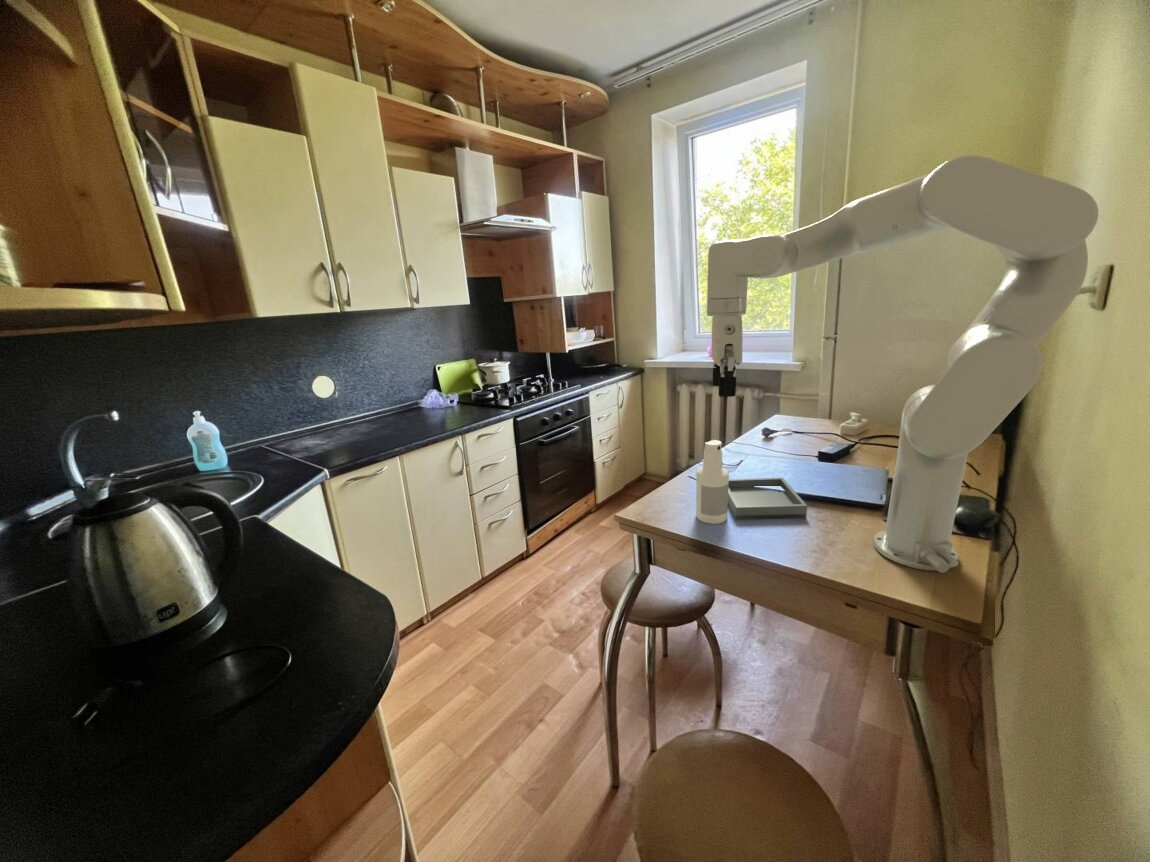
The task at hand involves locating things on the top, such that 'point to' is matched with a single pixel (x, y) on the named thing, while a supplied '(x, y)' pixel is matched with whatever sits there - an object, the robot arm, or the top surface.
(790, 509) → the tray
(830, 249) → the robot arm
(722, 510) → the spray bottle
